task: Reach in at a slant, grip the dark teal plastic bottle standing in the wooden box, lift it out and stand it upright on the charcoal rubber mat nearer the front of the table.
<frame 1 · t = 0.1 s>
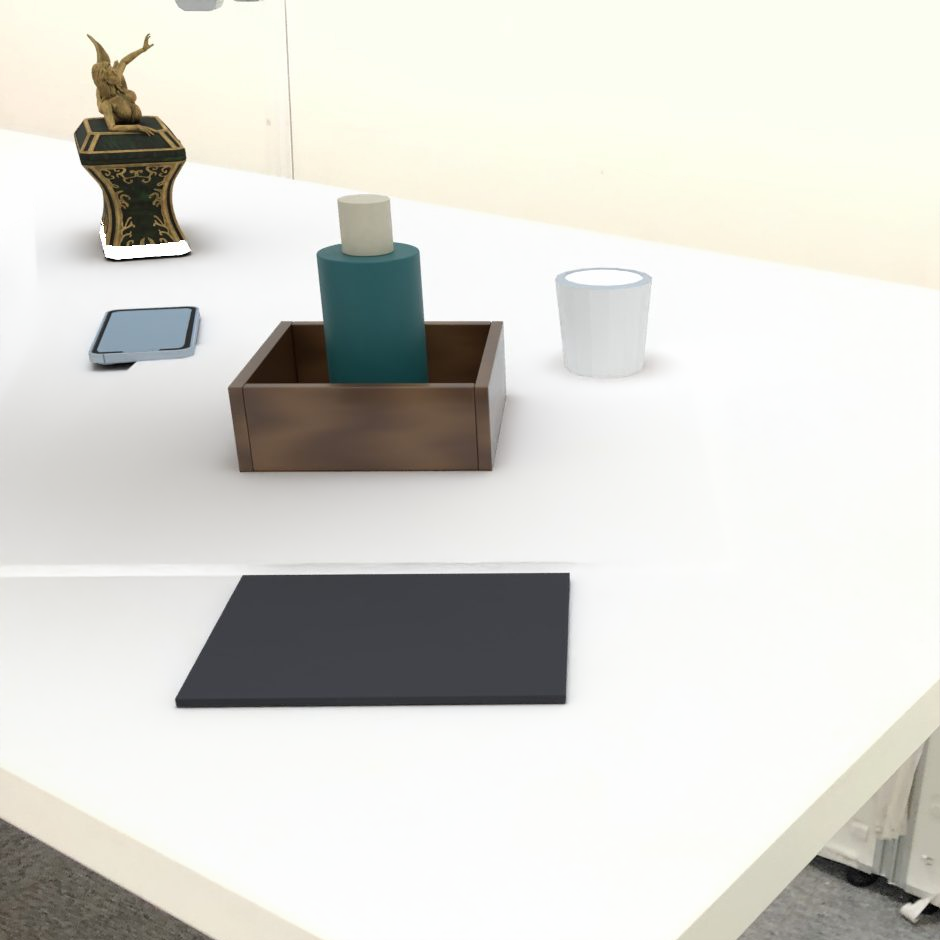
hand: (227, 5, 63), 25 cm above the table, tool pointing down, fingers open, 8 cm apart
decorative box: (144, 244, 136), on the table
smartphone: (149, 342, 104), on the table
mat: (391, 637, 60), on the table
wooden box: (384, 438, 84), on the table
bottle: (383, 429, 84), point 1 cm above the table, touching wooden box
white cup: (604, 376, 97), on the table
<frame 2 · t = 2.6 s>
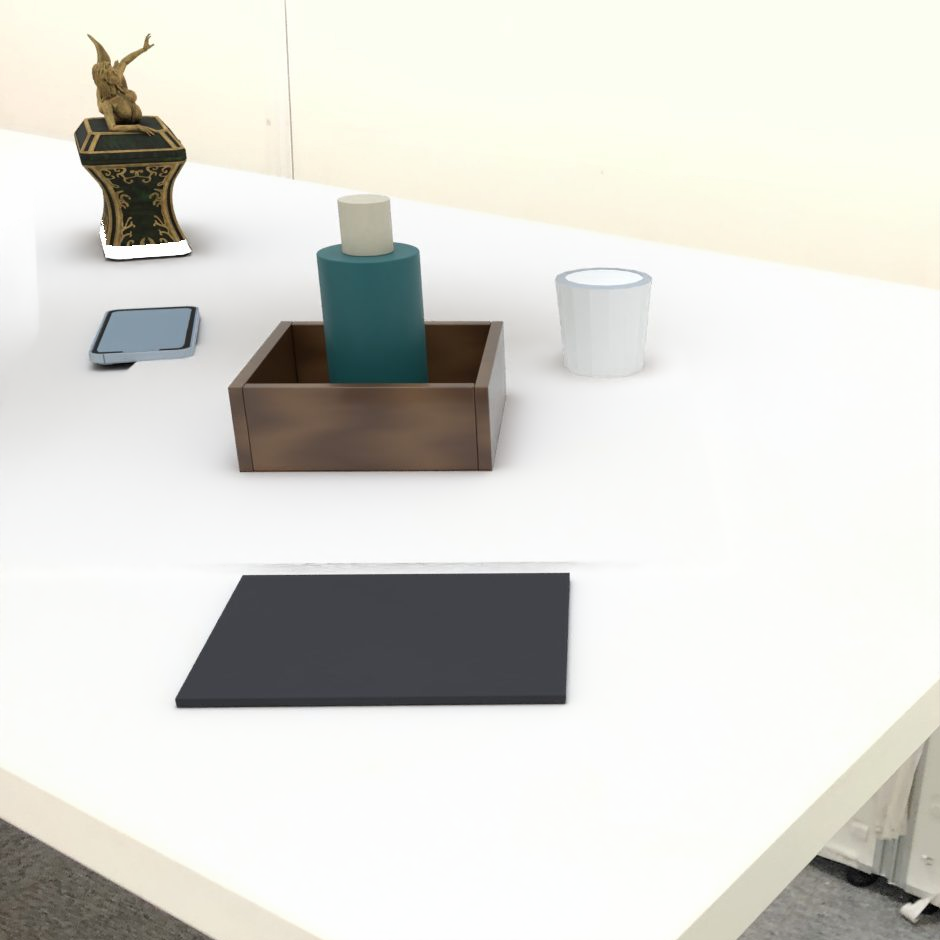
nothing on the table moved.
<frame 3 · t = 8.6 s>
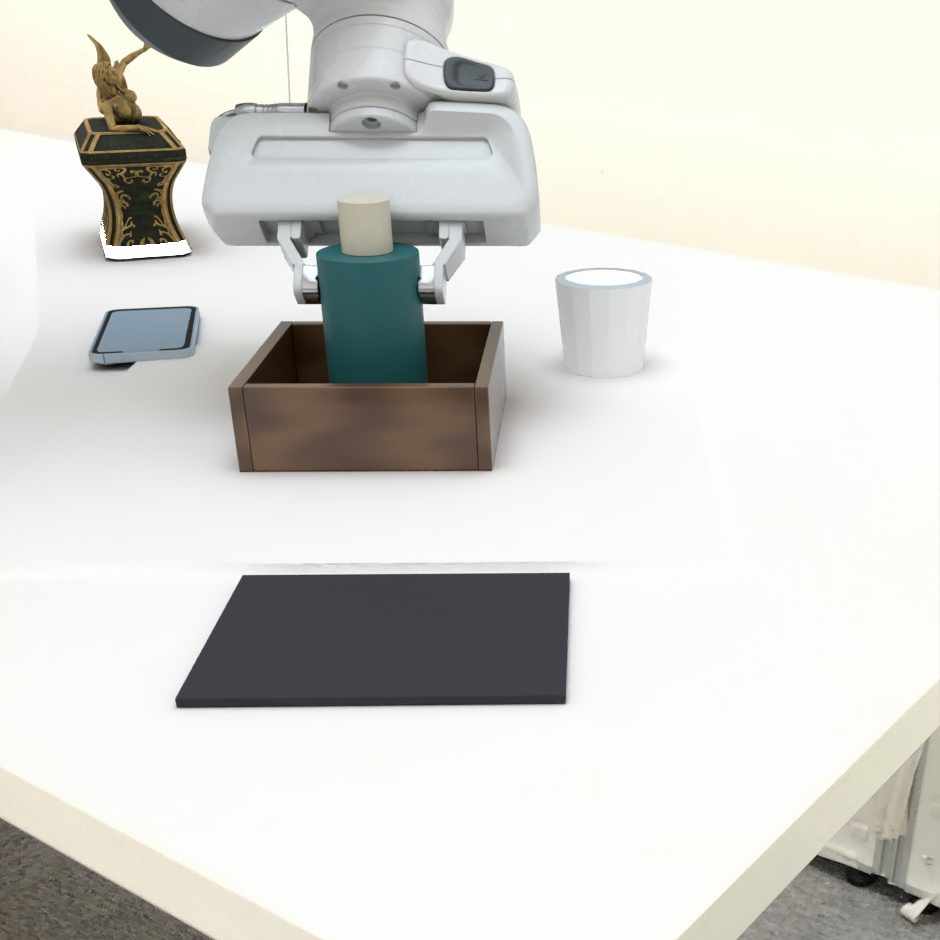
hand: (370, 299, 79), 9 cm above the table, tool tilted 45°, fingers closed on bottle, 6 cm apart
bottle: (383, 429, 84), point 1 cm above the table, touching wooden box, gripper
everything else where it was.
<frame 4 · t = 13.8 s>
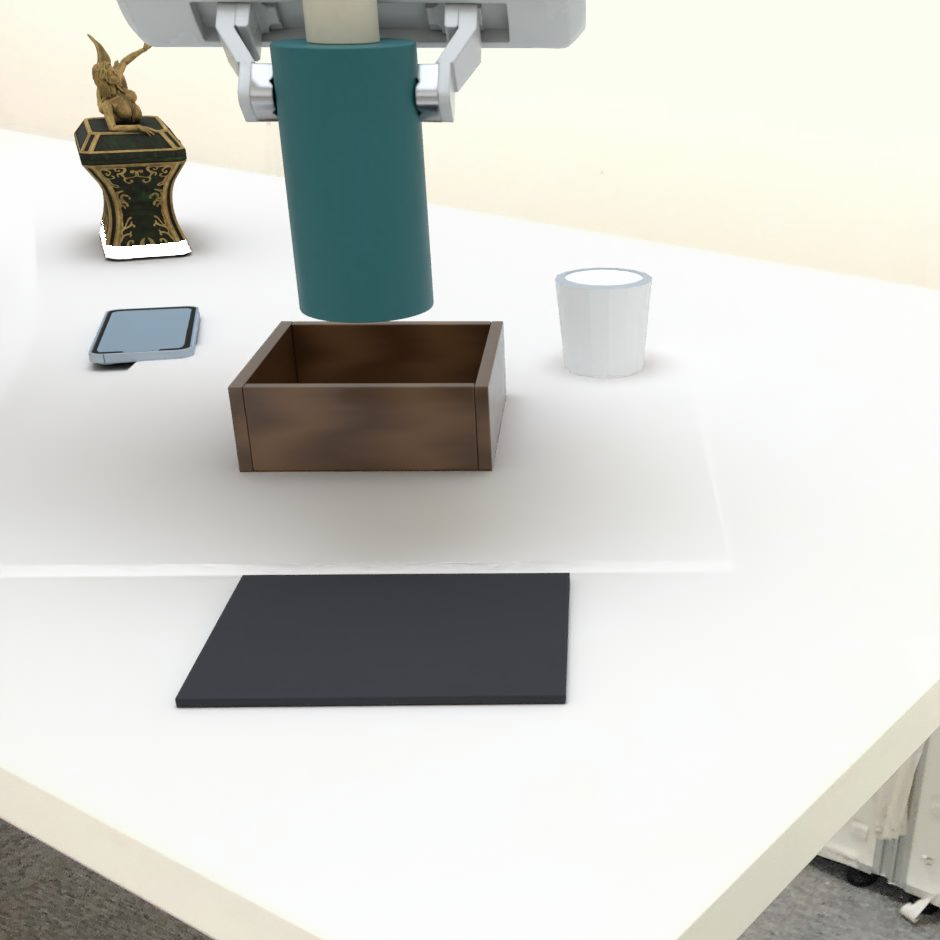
hand: (348, 113, 56), 21 cm above the table, tool tilted 45°, fingers closed on bottle, 6 cm apart
bottle: (367, 306, 61), point 13 cm above the table, touching gripper
everything else where it was.
when the fingers open (9 cm above the table, at t = 18.8 s): bottle stays where it is, resting on mat.
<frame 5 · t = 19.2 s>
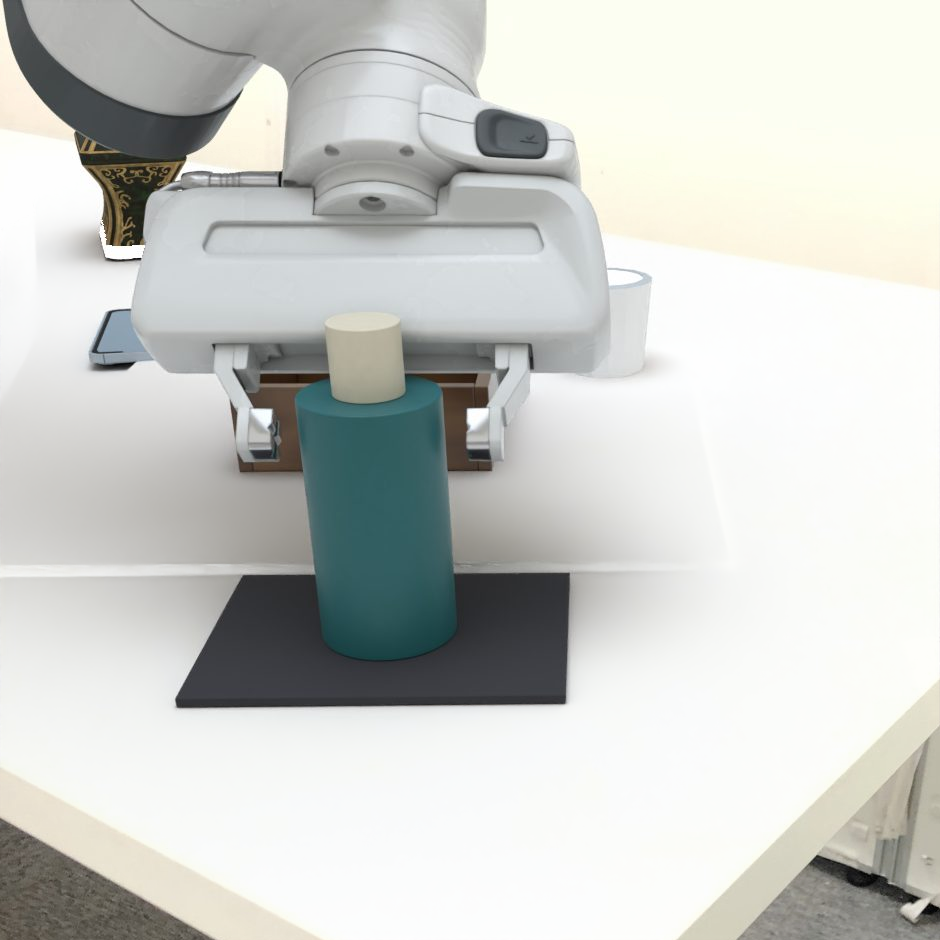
hand: (371, 456, 56), 9 cm above the table, tool tilted 45°, fingers open, 8 cm apart
bottle: (390, 629, 60), resting on mat
everything else where it was.
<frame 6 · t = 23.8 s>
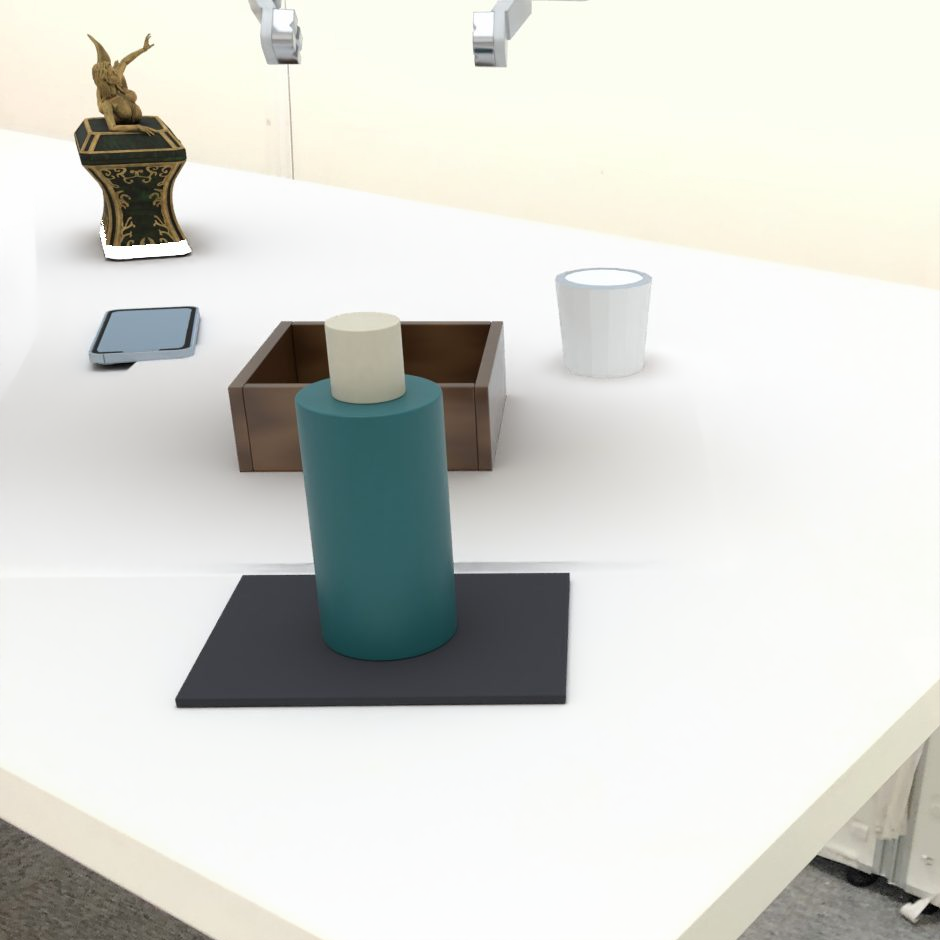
hand: (385, 57, 60), 23 cm above the table, tool tilted 45°, fingers open, 8 cm apart
nothing on the table moved.
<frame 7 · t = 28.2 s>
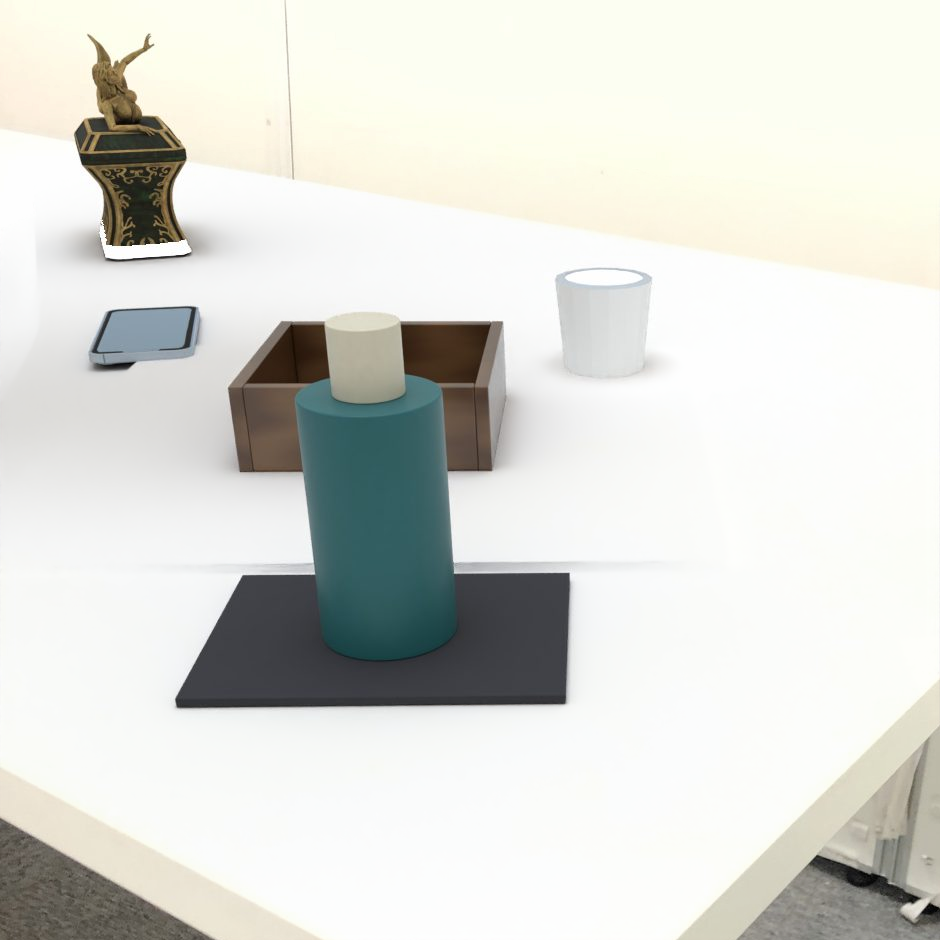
nothing on the table moved.
at the end: bottle inside the target area on the mat (0.0 cm from its centre), point 0.4 cm above the mat's base; bottle tilted 0°; the gripper is holding nothing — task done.
